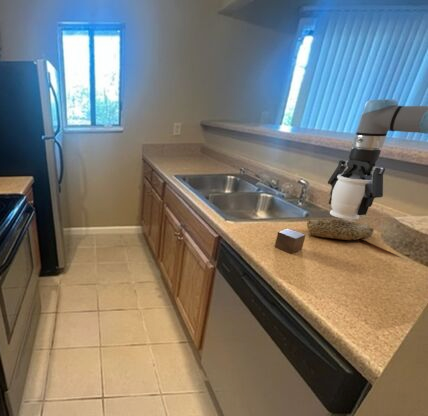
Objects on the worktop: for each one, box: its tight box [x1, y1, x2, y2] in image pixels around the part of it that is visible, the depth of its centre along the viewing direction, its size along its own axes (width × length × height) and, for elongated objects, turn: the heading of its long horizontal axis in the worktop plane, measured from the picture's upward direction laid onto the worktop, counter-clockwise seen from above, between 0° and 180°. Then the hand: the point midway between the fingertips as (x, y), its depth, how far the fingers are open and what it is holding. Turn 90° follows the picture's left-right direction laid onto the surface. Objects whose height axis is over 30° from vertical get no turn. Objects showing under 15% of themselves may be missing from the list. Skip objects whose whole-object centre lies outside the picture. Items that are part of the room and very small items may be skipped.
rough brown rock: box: [306, 218, 374, 241], centre depth 104 cm, size 13×8×20 cm
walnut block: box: [274, 228, 307, 255], centre depth 96 cm, size 6×6×6 cm
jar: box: [329, 173, 373, 221], centre depth 99 cm, size 11×10×15 cm
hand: (346, 208), depth 101 cm, fingers closed on jar, 10 cm apart
